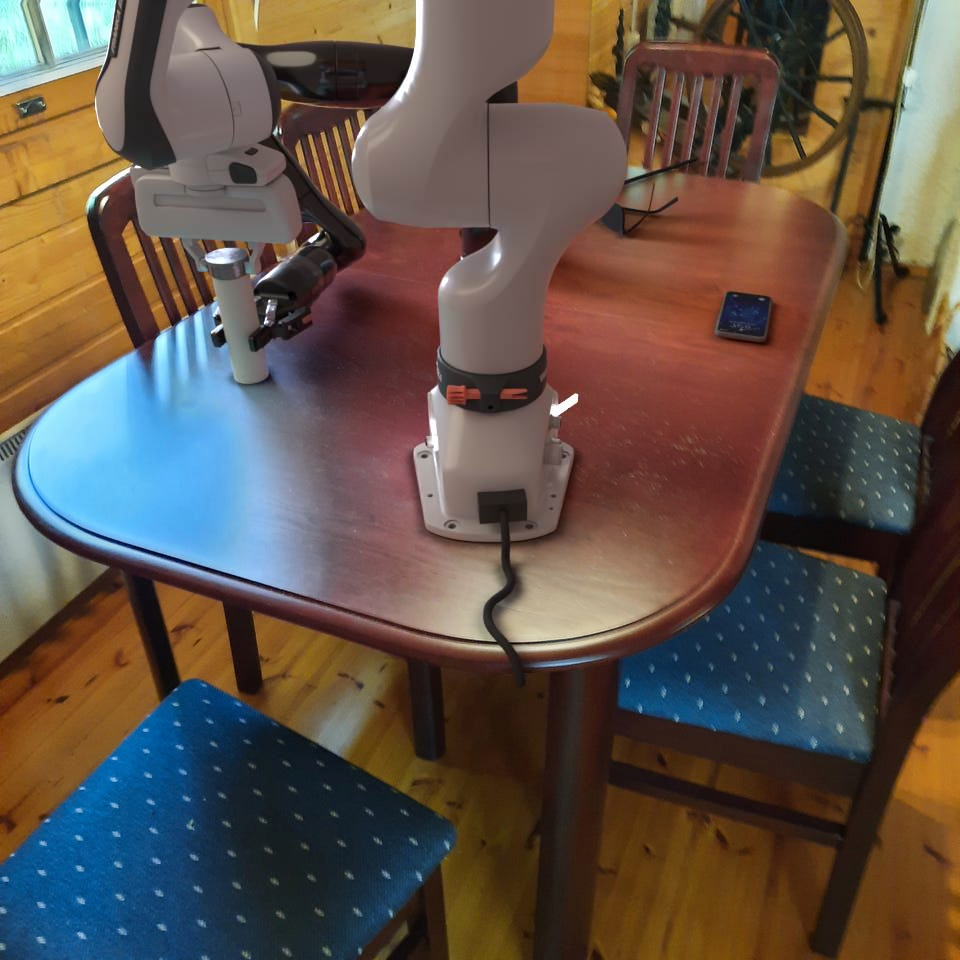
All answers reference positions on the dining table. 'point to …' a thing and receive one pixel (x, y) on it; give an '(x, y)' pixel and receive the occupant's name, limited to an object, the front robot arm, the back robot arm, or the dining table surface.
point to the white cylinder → (240, 328)
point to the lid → (226, 263)
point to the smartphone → (744, 316)
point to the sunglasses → (617, 216)
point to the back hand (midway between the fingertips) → (233, 343)
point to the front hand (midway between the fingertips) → (230, 271)
